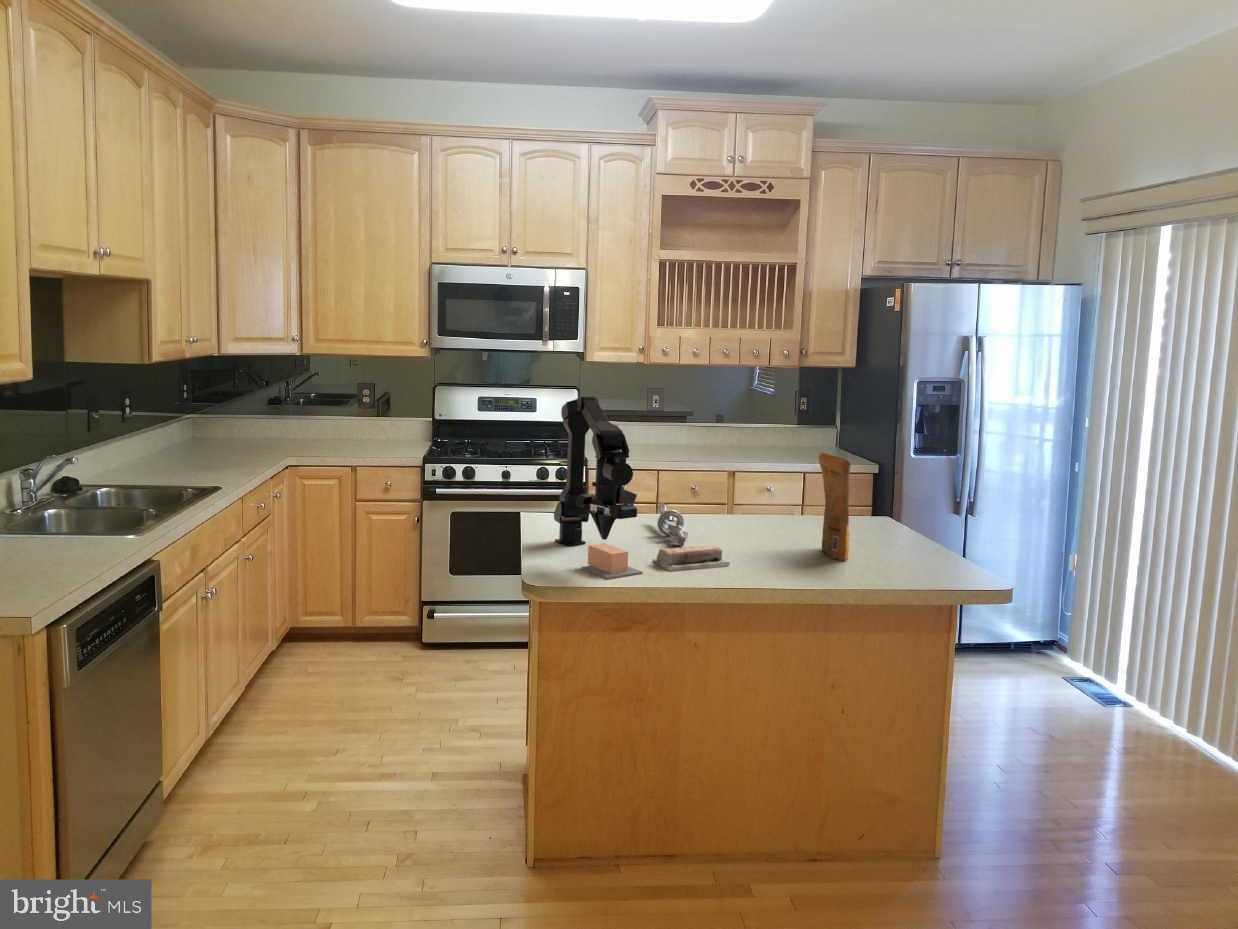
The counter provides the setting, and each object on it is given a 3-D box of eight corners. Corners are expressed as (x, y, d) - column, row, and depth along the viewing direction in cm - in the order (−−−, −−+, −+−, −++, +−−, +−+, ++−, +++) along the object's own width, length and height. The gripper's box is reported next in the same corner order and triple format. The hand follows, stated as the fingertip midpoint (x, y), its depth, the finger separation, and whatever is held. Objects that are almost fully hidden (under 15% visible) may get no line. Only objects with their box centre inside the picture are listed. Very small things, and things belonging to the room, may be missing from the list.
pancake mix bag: (830, 562, 269) (839, 460, 265) (810, 545, 288) (817, 449, 283) (854, 563, 270) (863, 461, 265) (832, 546, 289) (840, 450, 284)
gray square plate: (581, 569, 251) (581, 567, 251) (615, 563, 258) (615, 561, 258) (607, 579, 243) (607, 577, 243) (642, 573, 249) (642, 571, 249)
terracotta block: (588, 545, 253) (612, 554, 245) (604, 543, 256) (628, 551, 249) (587, 564, 254) (611, 573, 246) (603, 562, 257) (627, 571, 249)
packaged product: (671, 554, 252) (652, 545, 261) (670, 573, 253) (651, 563, 262) (731, 549, 260) (711, 541, 269) (730, 567, 261) (710, 558, 270)
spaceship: (676, 498, 309) (653, 488, 307) (701, 535, 275) (676, 525, 273) (664, 520, 310) (642, 511, 308) (689, 560, 277) (664, 550, 275)
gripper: (655, 482, 247) (652, 543, 250) (609, 470, 262) (607, 528, 264) (620, 485, 240) (617, 548, 243) (575, 473, 255) (573, 533, 257)
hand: (604, 539), depth 252 cm, fingers closed
